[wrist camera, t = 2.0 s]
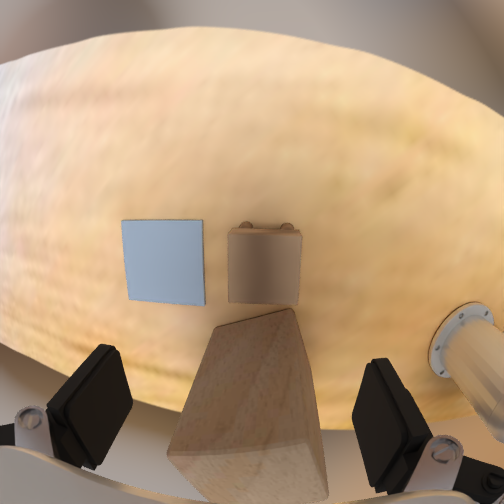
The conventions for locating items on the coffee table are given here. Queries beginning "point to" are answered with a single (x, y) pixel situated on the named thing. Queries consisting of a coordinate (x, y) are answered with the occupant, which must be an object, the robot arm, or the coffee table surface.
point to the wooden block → (253, 418)
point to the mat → (164, 261)
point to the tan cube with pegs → (264, 265)
